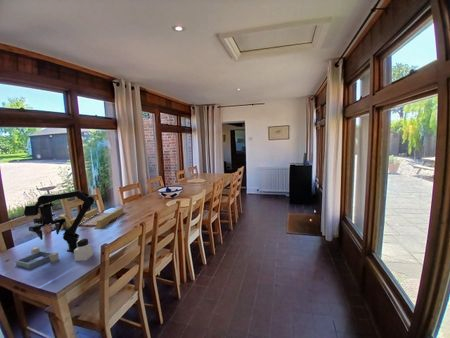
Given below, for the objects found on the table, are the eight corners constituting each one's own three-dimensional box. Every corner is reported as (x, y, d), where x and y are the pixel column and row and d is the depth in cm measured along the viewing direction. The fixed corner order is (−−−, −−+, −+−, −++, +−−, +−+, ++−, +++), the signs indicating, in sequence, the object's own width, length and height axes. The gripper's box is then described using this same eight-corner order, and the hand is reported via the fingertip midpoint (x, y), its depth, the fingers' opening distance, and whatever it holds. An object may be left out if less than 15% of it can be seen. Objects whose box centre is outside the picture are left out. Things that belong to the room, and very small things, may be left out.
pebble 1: (41, 253, 149) (41, 247, 148) (34, 257, 145) (33, 250, 144) (37, 253, 150) (36, 246, 150) (30, 256, 146) (29, 249, 146)
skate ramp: (100, 231, 187) (99, 213, 185) (59, 232, 188) (57, 214, 186) (123, 216, 227) (122, 201, 225) (89, 217, 228) (88, 202, 226)
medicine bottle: (93, 255, 144) (91, 237, 143) (86, 260, 137) (84, 241, 136) (81, 255, 144) (79, 237, 143) (74, 261, 137) (72, 242, 136)
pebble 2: (60, 260, 139) (59, 253, 139) (53, 263, 135) (52, 256, 134) (56, 259, 141) (55, 252, 140) (48, 262, 136) (47, 255, 136)
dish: (54, 258, 142) (54, 253, 142) (30, 269, 129) (29, 264, 129) (41, 255, 147) (40, 250, 146) (16, 265, 134) (15, 260, 134)
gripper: (55, 208, 155) (58, 230, 157) (22, 217, 138) (25, 241, 140) (64, 209, 151) (67, 232, 152) (31, 218, 134) (35, 243, 135)
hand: (49, 236), depth 145 cm, fingers open, 9 cm apart
